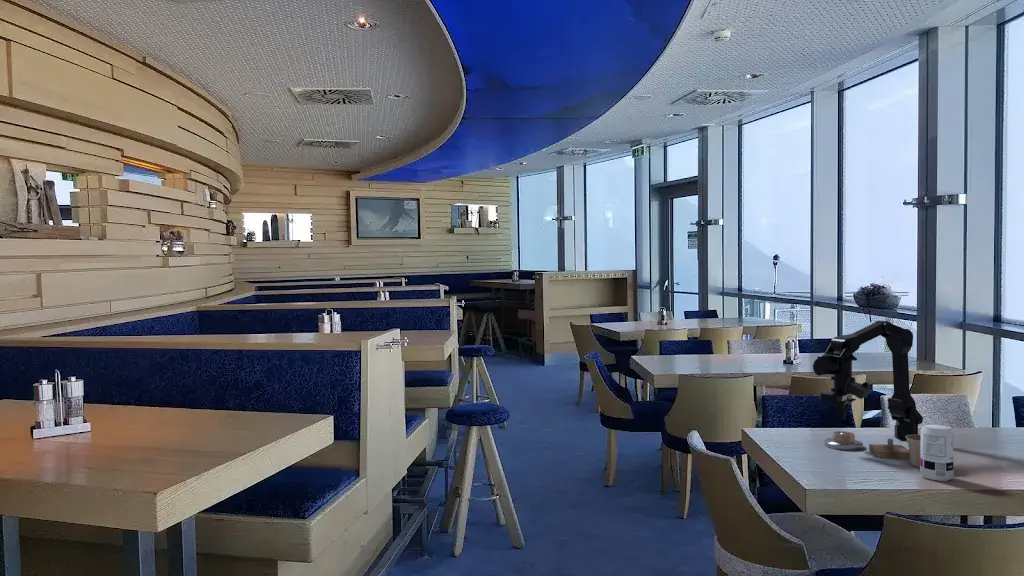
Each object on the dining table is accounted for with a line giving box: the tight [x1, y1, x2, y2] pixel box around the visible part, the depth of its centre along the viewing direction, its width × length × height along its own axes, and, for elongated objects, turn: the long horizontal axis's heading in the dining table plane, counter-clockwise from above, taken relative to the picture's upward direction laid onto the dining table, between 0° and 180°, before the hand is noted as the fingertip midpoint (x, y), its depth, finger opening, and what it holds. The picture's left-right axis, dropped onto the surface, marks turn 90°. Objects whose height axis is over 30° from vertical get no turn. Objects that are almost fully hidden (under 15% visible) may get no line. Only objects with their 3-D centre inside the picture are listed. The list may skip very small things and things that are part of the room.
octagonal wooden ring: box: [832, 430, 856, 444], centre depth 242 cm, size 6×6×3 cm
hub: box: [823, 433, 864, 452], centre depth 243 cm, size 12×12×4 cm
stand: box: [868, 438, 910, 460], centre depth 232 cm, size 10×10×5 cm
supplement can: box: [919, 423, 955, 482], centre depth 205 cm, size 8×8×15 cm
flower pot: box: [905, 434, 921, 468], centre depth 218 cm, size 9×9×9 cm
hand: (842, 419), depth 242 cm, fingers closed
